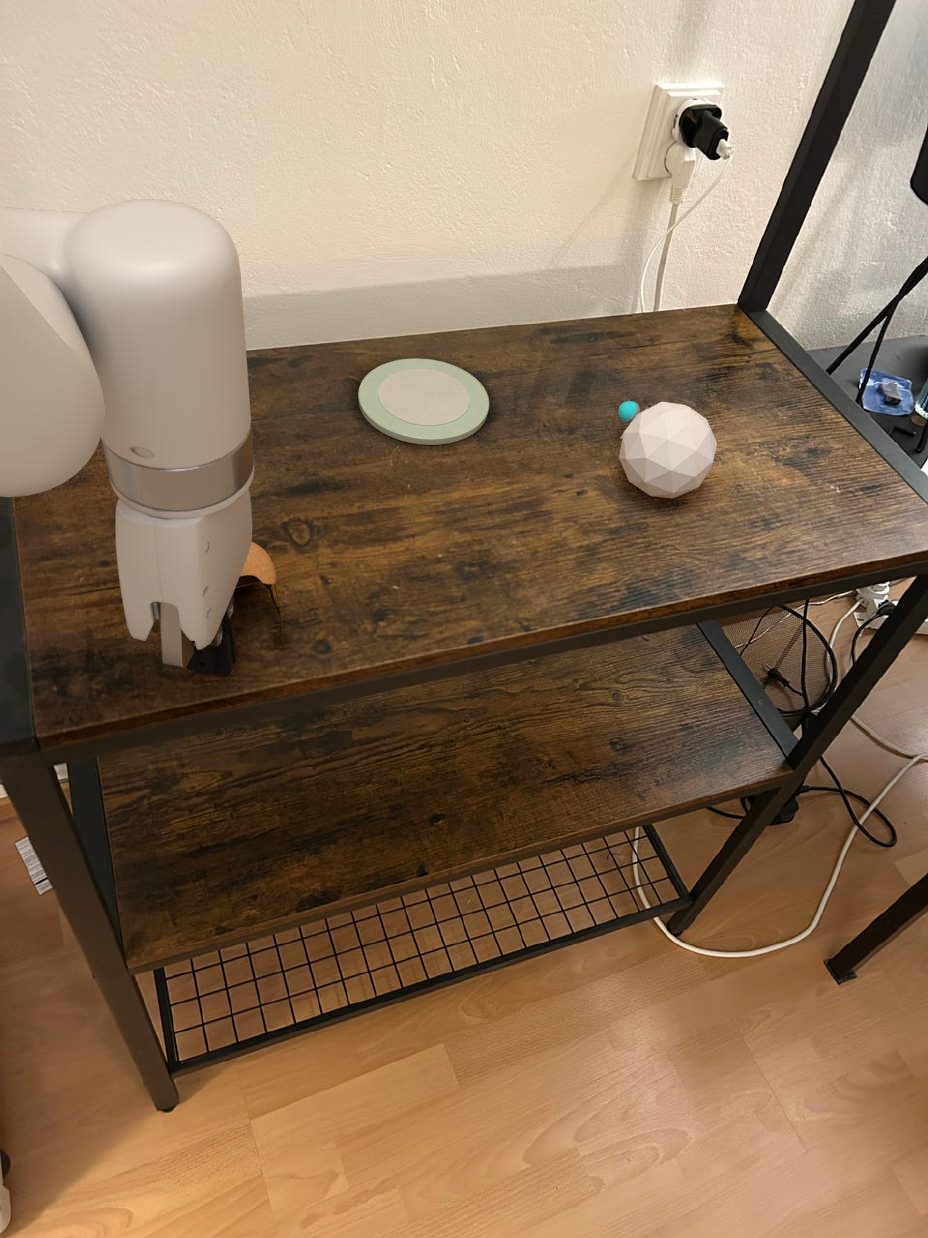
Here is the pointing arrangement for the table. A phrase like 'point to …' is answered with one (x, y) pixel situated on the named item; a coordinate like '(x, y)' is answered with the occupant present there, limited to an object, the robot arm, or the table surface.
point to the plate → (423, 401)
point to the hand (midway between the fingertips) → (210, 663)
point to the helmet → (259, 573)
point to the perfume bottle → (665, 448)
